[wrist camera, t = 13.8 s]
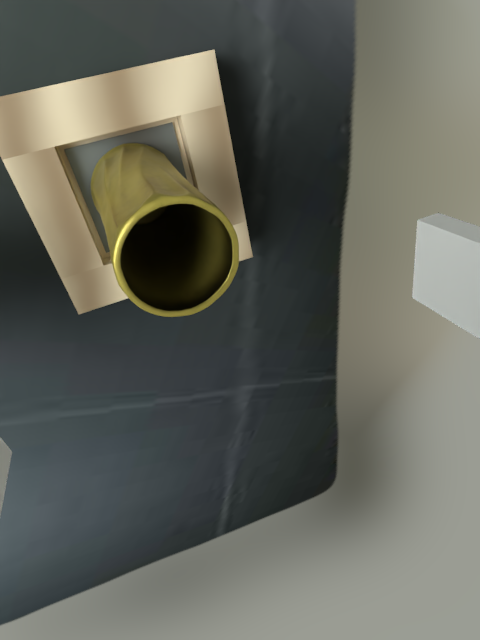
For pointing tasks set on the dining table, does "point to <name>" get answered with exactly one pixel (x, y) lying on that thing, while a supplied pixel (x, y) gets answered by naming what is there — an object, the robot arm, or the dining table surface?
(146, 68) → the square wooden frame
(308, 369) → the dining table surface
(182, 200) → the vase
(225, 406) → the dining table surface
